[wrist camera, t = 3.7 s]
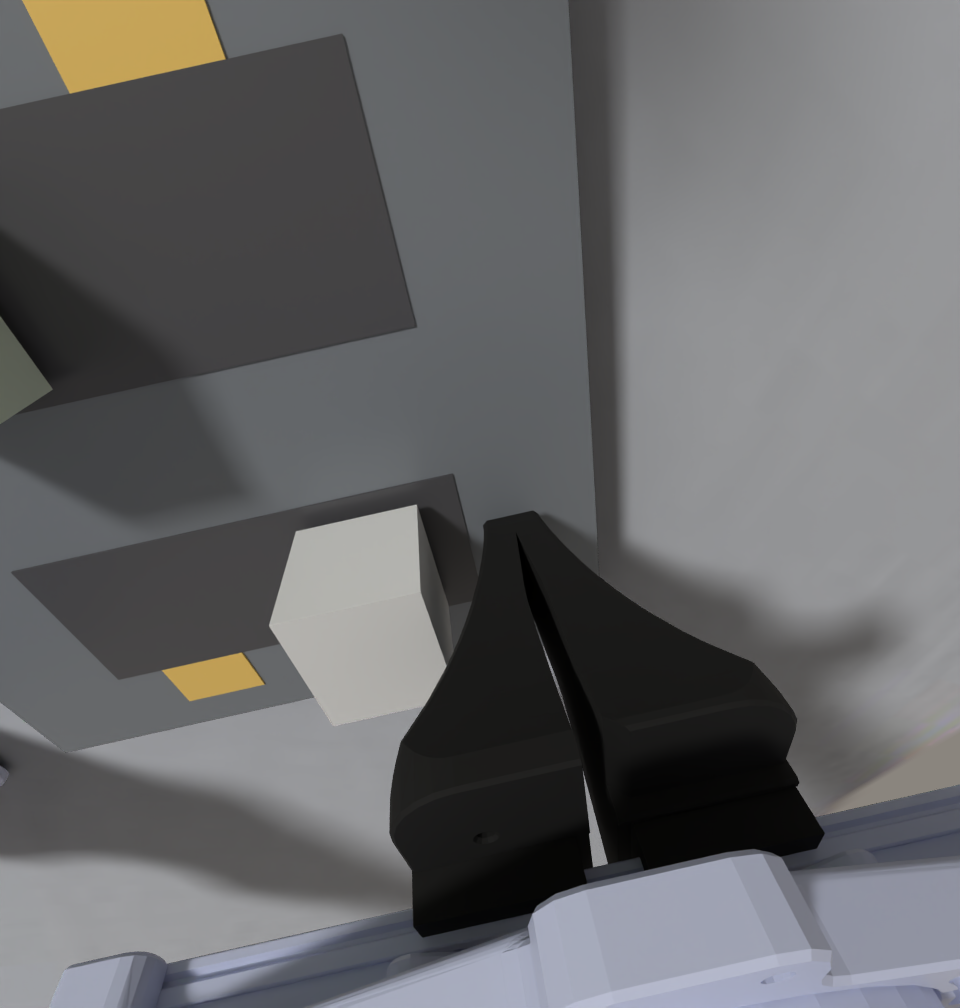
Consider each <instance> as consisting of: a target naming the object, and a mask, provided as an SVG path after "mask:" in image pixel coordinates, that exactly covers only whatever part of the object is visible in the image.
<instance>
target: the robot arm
mask: <svg viewBox="0 0 960 1008" xmlns="http://www.w3.org/2000/svg"><path fill="white" fill-rule="evenodd" d="M483 529H484V543H483V553H482V560H481V565H480V571H479V576H478V581H477V585H476V588H475V592H474V596H473V599H472V603H471V607H470V610H469V613H468V616H467V619H466V622H465V624H464V627H463V630H462V632H461V635H460V637H459V640H458V642H457V644H456V646H455V649H454V651H453V653H452V656H451V658H450V660H449V662H448V664H447V666H446V668H445V670H444V672H443V674H442V676H441V678H440V679H439V681H438V683H437V685H436V687H435V688H434V690H433V692H432V694H431V696H430V698H429V699H428V701H427V703H426V704H425V706H424V708H423V709H422V711H421V712H420V714H419V715H418V717H417V718H416V720H415V721H414V723H413V724H412V726H411V727H410V729H409V730H408V732H407V733H406V735H405V736H404V738H403V739H402V741H401V743H400V747H399V751H398V755H397V760H396V764H395V769H394V774H393V780H392V788H391V796H390V836H391V839H392V842H393V843H394V845H395V846H396V848H397V849H398V851H399V852H400V854H401V855H402V857H403V858H404V859H405V861H406V862H407V864H408V865H409V867H410V868H411V870H412V889H413V908H412V909H407V910H403V911H399V912H394V913H390V914H385V915H381V916H376V917H372V918H368V919H363V920H359V921H354V922H350V923H346V924H341V925H337V926H332V927H328V928H323V929H319V930H315V931H310V932H306V933H301V934H297V935H292V936H288V937H284V938H279V939H275V940H270V941H266V942H261V943H257V944H253V945H248V946H244V947H239V948H235V949H230V950H226V951H222V952H217V953H213V954H208V955H204V956H199V957H195V958H191V959H186V960H182V961H177V962H173V963H169V964H167V963H166V962H165V960H163V959H162V958H161V957H159V956H157V955H155V954H152V953H149V952H129V953H123V954H118V955H114V956H109V957H105V958H101V959H96V960H92V961H87V962H83V963H78V964H74V965H71V966H69V967H68V968H67V969H65V970H64V972H63V974H62V976H61V979H60V981H59V984H58V986H57V988H56V991H55V993H54V996H53V998H52V1000H51V1003H50V1005H49V1008H960V785H956V786H952V787H947V788H943V789H939V790H934V791H930V792H926V793H921V794H916V795H912V796H908V797H904V798H899V799H894V800H890V801H886V802H881V803H876V804H872V805H868V806H864V807H859V808H854V809H850V810H846V811H841V812H837V813H832V814H828V815H823V816H819V817H814V815H813V813H812V812H811V810H810V809H809V807H808V805H807V804H806V802H805V801H804V799H803V797H802V796H801V794H800V793H799V791H798V790H797V788H796V786H798V784H799V781H798V777H797V776H796V774H795V772H794V771H793V769H792V768H791V766H790V765H789V763H788V761H787V760H786V757H787V754H788V751H789V748H790V745H791V743H792V740H793V737H794V734H795V731H796V723H797V718H796V716H795V714H794V712H793V710H792V708H791V707H790V706H789V704H788V703H787V701H786V700H785V699H784V697H783V696H782V694H781V693H780V692H779V691H778V689H777V688H776V687H775V686H774V685H773V684H772V683H771V681H770V680H769V679H768V678H767V677H766V676H765V675H764V674H763V673H762V672H761V670H760V669H759V668H758V667H757V666H756V665H755V664H754V663H753V662H751V661H748V660H746V659H744V658H741V657H739V656H736V655H734V654H732V653H729V652H727V651H724V650H722V649H719V648H717V647H715V646H712V645H710V644H708V643H705V642H703V641H701V640H699V639H697V638H695V637H693V636H691V635H689V634H687V633H685V632H683V631H681V630H679V629H678V628H676V627H674V626H672V625H671V624H669V623H667V622H665V621H664V620H662V619H660V618H658V617H657V616H655V615H653V614H651V613H650V612H648V611H646V610H645V609H643V608H642V607H640V606H639V605H637V604H636V603H634V602H633V601H631V600H630V599H628V598H627V597H625V596H624V595H623V594H621V593H620V592H618V591H617V590H616V589H614V588H613V587H612V586H610V585H609V584H608V583H606V582H605V581H604V580H603V579H601V578H600V577H599V576H598V575H597V574H595V573H594V572H593V571H592V570H591V569H590V568H588V567H587V566H586V565H585V564H584V563H583V562H582V561H581V560H580V559H579V558H577V557H576V556H575V555H574V554H573V553H572V552H571V551H570V550H569V549H568V548H567V547H566V546H565V545H564V544H563V543H562V542H561V541H560V540H559V539H558V537H557V536H556V535H555V534H554V533H553V532H552V531H551V530H550V529H549V527H548V526H547V525H546V524H545V523H544V521H543V520H542V519H541V517H540V516H539V514H538V513H536V512H535V511H533V510H532V511H528V512H523V513H519V514H515V515H510V516H506V517H501V518H497V519H492V520H488V521H486V522H485V523H484V525H483ZM534 621H535V622H534ZM535 624H536V625H535ZM536 627H537V629H538V632H539V635H540V637H541V640H542V642H543V645H544V647H545V650H546V653H547V655H548V658H549V660H550V663H551V666H552V668H553V671H554V673H555V676H556V679H557V681H558V684H559V687H560V690H561V693H562V696H563V700H564V703H565V707H566V711H567V714H568V718H569V721H570V723H569V721H568V718H567V715H566V713H565V710H564V707H563V704H562V702H561V699H560V696H559V693H558V690H557V688H556V685H555V682H554V679H553V676H552V673H551V671H550V668H549V665H548V662H547V659H546V656H545V653H544V650H543V647H542V644H541V641H540V638H539V635H538V632H537V629H536ZM570 725H571V726H570ZM571 728H572V729H571ZM582 768H583V769H582ZM583 772H584V776H585V779H586V783H587V787H588V790H589V794H590V798H591V801H592V805H593V809H594V813H595V816H596V820H597V824H598V828H599V831H600V835H601V839H602V843H603V847H604V850H605V854H606V858H607V862H608V864H607V865H602V866H598V867H593V864H592V856H591V848H590V839H589V833H590V829H589V820H588V811H587V803H586V794H585V786H584V777H583ZM8 776H9V772H8V771H7V770H6V769H5V768H3V767H2V766H0V786H2V785H3V784H4V783H5V781H6V779H7V778H8Z"/></svg>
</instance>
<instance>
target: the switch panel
mask: <svg viewBox="0 0 960 1008" xmlns="http://www.w3.org/2000/svg"><path fill="white" fill-rule="evenodd" d="M0 317H1V318H2V319H3V321H4V322H5V324H6V325H7V326H8V328H9V329H10V331H11V332H12V333H13V335H14V336H15V337H16V339H17V340H18V342H19V343H20V344H21V346H22V347H23V349H24V350H25V351H26V353H27V354H28V355H29V357H30V358H31V360H32V361H33V362H34V364H35V365H36V367H37V368H38V369H39V371H40V372H41V373H42V375H43V376H44V378H45V379H46V380H47V382H48V383H49V385H50V386H51V387H52V389H53V390H51V391H50V392H48V393H47V394H45V395H44V396H42V397H41V398H39V399H38V400H36V401H35V402H33V403H32V404H30V405H29V406H27V407H25V408H24V409H22V410H21V411H19V412H18V413H16V414H15V415H13V416H12V417H10V418H9V419H7V420H6V421H4V422H3V423H1V424H0V702H1V703H2V704H3V705H4V706H6V707H7V708H8V709H10V710H11V711H12V712H13V713H15V714H16V715H17V716H19V717H20V718H21V719H22V720H24V721H25V722H26V723H28V724H29V725H30V726H32V727H33V728H34V729H35V730H37V731H38V732H39V733H41V734H42V735H43V736H44V737H46V738H47V739H48V740H50V741H51V742H52V743H53V744H55V745H56V746H57V747H59V748H60V749H61V750H62V751H64V752H65V753H67V752H72V751H76V750H81V749H85V748H90V747H94V746H98V745H103V744H107V743H112V742H116V741H121V740H125V739H130V738H134V737H139V736H143V735H148V734H152V733H157V732H161V731H166V730H170V729H175V728H179V727H184V726H188V725H193V724H197V723H201V722H206V721H210V720H215V719H219V718H224V717H228V716H233V715H237V714H242V713H246V712H251V711H255V710H260V709H264V708H269V707H273V706H278V705H282V704H287V703H291V702H295V701H300V700H304V699H309V698H313V697H314V695H313V694H312V692H311V691H310V689H309V688H308V686H307V684H306V683H305V681H304V680H303V678H302V677H301V675H300V674H299V672H298V670H297V669H296V667H295V666H294V664H293V663H292V661H291V660H290V658H289V656H288V655H287V653H286V652H285V650H284V649H283V647H282V646H281V644H280V642H279V641H278V639H277V638H276V636H275V635H274V633H273V631H272V630H271V628H270V627H269V624H270V620H271V617H272V613H273V610H274V606H275V603H276V599H277V596H278V592H279V589H280V585H281V582H282V578H283V575H284V571H285V568H286V564H287V561H288V557H289V554H290V550H291V547H292V543H293V540H294V536H295V533H296V531H300V530H304V529H309V528H313V527H318V526H322V525H327V524H331V523H336V522H340V521H345V520H349V519H354V518H358V517H363V516H367V515H372V514H376V513H381V512H385V511H390V510H394V509H399V508H403V507H408V506H412V505H417V507H418V510H419V513H420V516H421V519H422V523H423V526H424V529H425V532H426V535H427V538H428V542H429V545H430V548H431V551H432V554H433V558H434V561H435V564H436V567H437V570H438V574H439V577H440V580H441V583H442V586H443V590H444V593H445V596H446V599H447V602H448V606H449V615H450V625H451V635H452V644H453V651H454V649H455V646H456V644H457V642H458V640H459V637H460V635H461V632H462V630H463V627H464V624H465V622H466V619H467V616H468V613H469V610H470V607H471V603H472V599H473V596H474V592H475V588H476V585H477V581H478V576H479V571H480V565H481V560H482V553H483V543H484V529H483V525H484V523H485V522H486V521H488V520H492V519H497V518H501V517H506V516H510V515H515V514H519V513H523V512H528V511H532V510H533V511H535V512H536V513H538V514H539V516H540V517H541V519H542V520H543V521H544V523H545V524H546V525H547V526H548V527H549V529H550V530H551V531H552V532H553V533H554V534H555V535H556V536H557V537H558V539H559V540H560V541H561V542H562V543H563V544H564V545H565V546H566V547H567V548H568V549H569V550H570V551H571V552H572V553H573V554H574V555H575V556H576V557H577V558H579V559H580V560H581V561H582V562H583V563H584V564H585V565H586V566H587V567H588V568H590V569H591V570H592V571H593V572H594V573H595V574H597V575H598V576H599V561H598V543H597V524H596V505H595V487H594V468H593V449H592V431H591V412H590V393H589V375H588V356H587V337H586V319H585V300H584V282H583V263H582V244H581V226H580V207H579V188H578V170H577V151H576V132H575V114H574V95H573V77H572V58H571V39H570V21H569V2H568V0H0ZM534 622H535V621H534ZM535 625H536V624H535ZM536 629H537V627H536ZM537 632H538V629H537ZM538 635H539V632H538ZM539 638H540V641H541V644H542V646H544V645H543V642H542V640H541V637H540V635H539Z"/></svg>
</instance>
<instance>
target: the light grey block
mask: <svg viewBox="0 0 960 1008" xmlns="http://www.w3.org/2000/svg"><path fill="white" fill-rule="evenodd" d="M269 627H270V628H271V630H272V631H273V633H274V635H275V636H276V638H277V639H278V641H279V642H280V644H281V646H282V647H283V649H284V650H285V652H286V653H287V655H288V656H289V658H290V660H291V661H292V663H293V664H294V666H295V667H296V669H297V670H298V672H299V674H300V675H301V677H302V678H303V680H304V681H305V683H306V684H307V686H308V688H309V689H310V691H311V692H312V694H313V695H314V697H315V699H316V700H317V702H318V703H319V705H320V706H321V708H322V709H323V711H324V713H325V714H326V716H327V717H328V719H329V720H330V722H331V723H332V725H333V726H338V725H342V724H347V723H351V722H355V721H360V720H364V719H369V718H373V717H378V716H382V715H387V714H391V713H396V712H400V711H405V710H409V709H414V708H418V707H423V706H425V704H426V703H427V701H428V699H429V698H430V696H431V694H432V692H433V690H434V688H435V687H436V685H437V683H438V681H439V679H440V678H441V676H442V674H443V672H444V670H445V668H446V666H447V664H448V662H449V660H450V658H451V656H452V653H453V644H452V635H451V625H450V615H449V606H448V602H447V599H446V596H445V593H444V590H443V586H442V583H441V580H440V577H439V574H438V570H437V567H436V564H435V561H434V558H433V554H432V551H431V548H430V545H429V542H428V538H427V535H426V532H425V529H424V526H423V523H422V519H421V516H420V513H419V510H418V507H417V505H412V506H408V507H403V508H399V509H394V510H390V511H385V512H381V513H376V514H372V515H367V516H363V517H358V518H354V519H349V520H345V521H340V522H336V523H331V524H327V525H322V526H318V527H313V528H309V529H304V530H300V531H296V533H295V536H294V540H293V543H292V547H291V550H290V554H289V557H288V561H287V564H286V568H285V571H284V575H283V578H282V582H281V585H280V589H279V592H278V596H277V599H276V603H275V606H274V610H273V613H272V617H271V620H270V624H269Z"/></svg>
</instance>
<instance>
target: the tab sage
mask: <svg viewBox="0 0 960 1008" xmlns="http://www.w3.org/2000/svg"><path fill="white" fill-rule="evenodd" d="M51 390H53V389H52V387H51V386H50V385H49V383H48V382H47V380H46V379H45V378H44V376H43V375H42V373H41V372H40V371H39V369H38V368H37V367H36V365H35V364H34V362H33V361H32V360H31V358H30V357H29V355H28V354H27V353H26V351H25V350H24V349H23V347H22V346H21V344H20V343H19V342H18V340H17V339H16V337H15V336H14V335H13V333H12V332H11V331H10V329H9V328H8V326H7V325H6V324H5V322H4V321H3V319H2V318H1V317H0V424H1V423H3V422H4V421H6V420H7V419H9V418H10V417H12V416H13V415H15V414H16V413H18V412H19V411H21V410H22V409H24V408H25V407H27V406H29V405H30V404H32V403H33V402H35V401H36V400H38V399H39V398H41V397H42V396H44V395H45V394H47V393H48V392H50V391H51Z"/></svg>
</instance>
